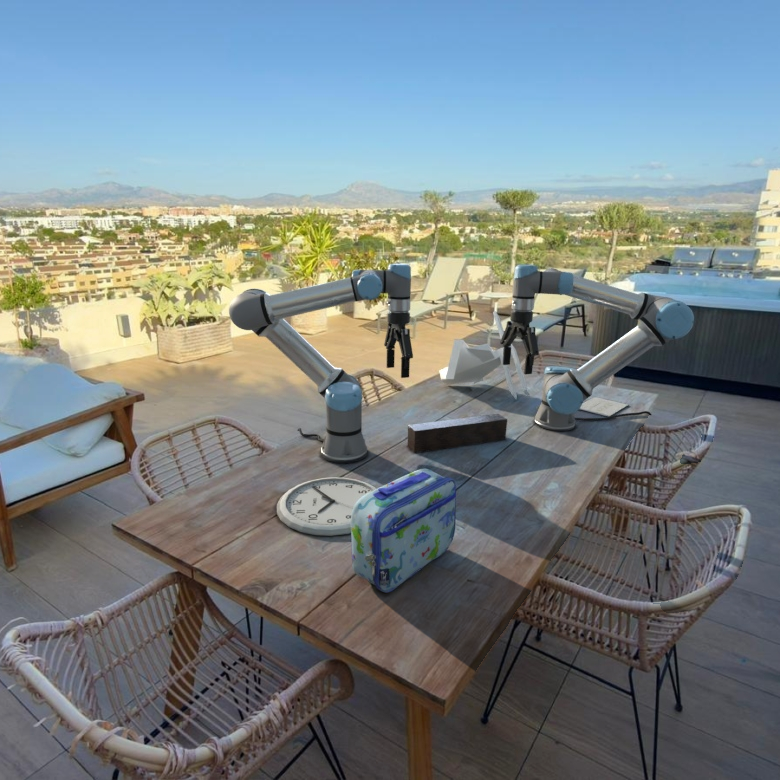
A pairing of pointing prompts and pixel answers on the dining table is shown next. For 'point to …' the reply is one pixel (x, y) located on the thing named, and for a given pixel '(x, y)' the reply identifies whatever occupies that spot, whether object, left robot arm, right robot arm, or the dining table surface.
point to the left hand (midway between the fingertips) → (397, 372)
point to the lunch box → (402, 527)
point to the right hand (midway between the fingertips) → (516, 369)
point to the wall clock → (322, 505)
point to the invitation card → (602, 406)
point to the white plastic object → (480, 363)
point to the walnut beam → (456, 432)
